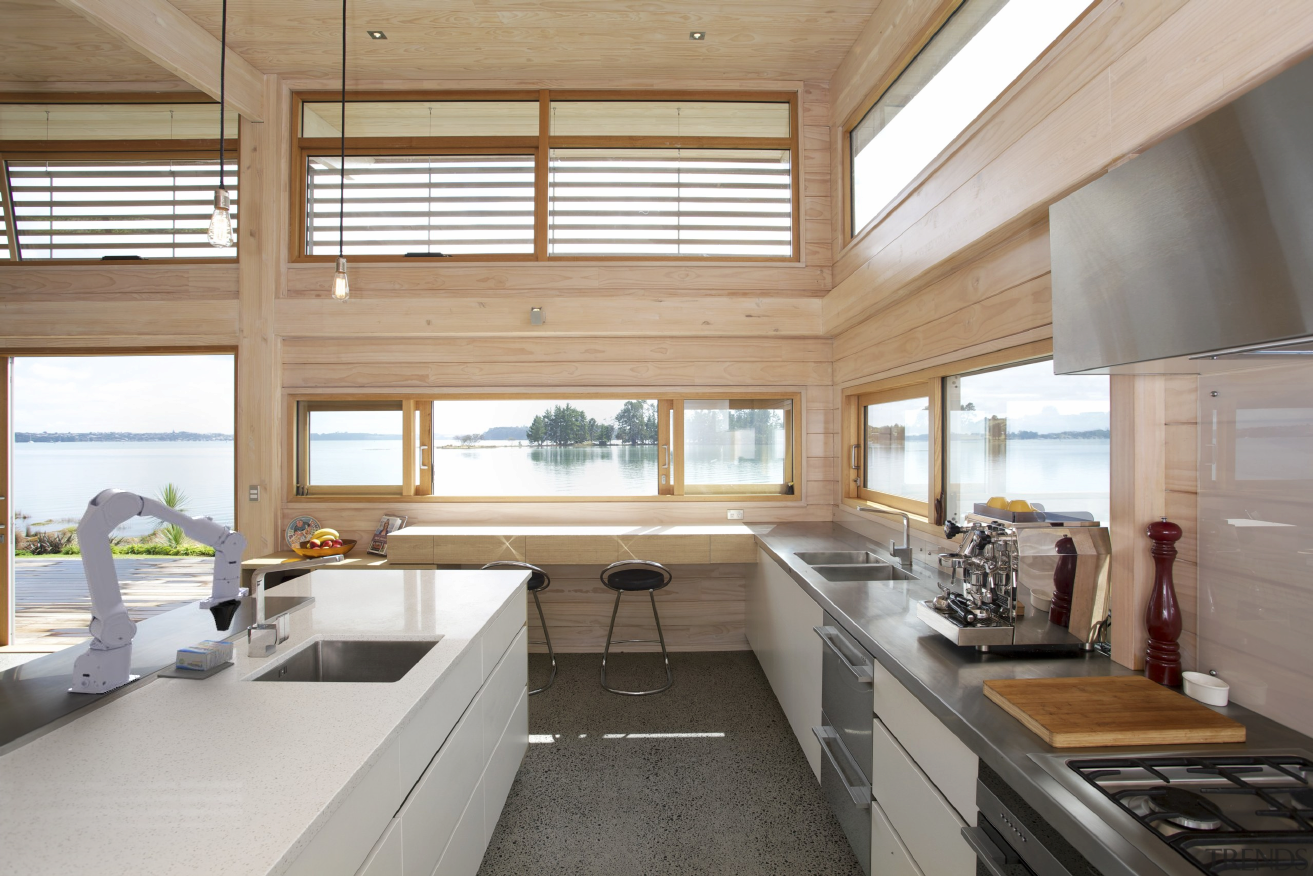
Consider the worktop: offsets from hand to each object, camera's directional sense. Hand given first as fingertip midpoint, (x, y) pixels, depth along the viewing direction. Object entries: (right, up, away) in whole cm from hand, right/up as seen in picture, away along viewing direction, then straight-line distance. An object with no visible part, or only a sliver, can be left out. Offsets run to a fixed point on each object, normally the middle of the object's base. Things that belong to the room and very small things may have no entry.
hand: (222, 630), depth 152 cm
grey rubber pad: (-1, -7, -8) cm, 11 cm away
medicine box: (0, -5, 0) cm, 5 cm away
